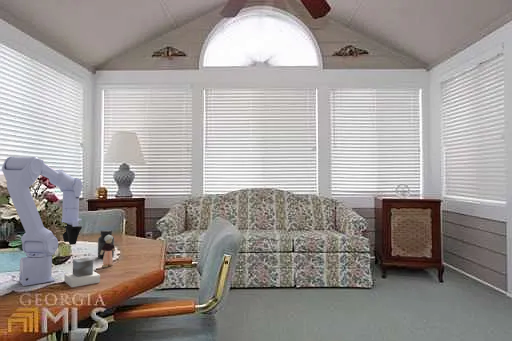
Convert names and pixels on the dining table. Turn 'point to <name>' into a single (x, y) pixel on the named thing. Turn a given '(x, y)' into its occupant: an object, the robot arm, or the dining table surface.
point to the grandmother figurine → (107, 251)
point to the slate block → (82, 267)
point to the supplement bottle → (104, 242)
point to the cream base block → (81, 279)
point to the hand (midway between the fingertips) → (69, 243)
